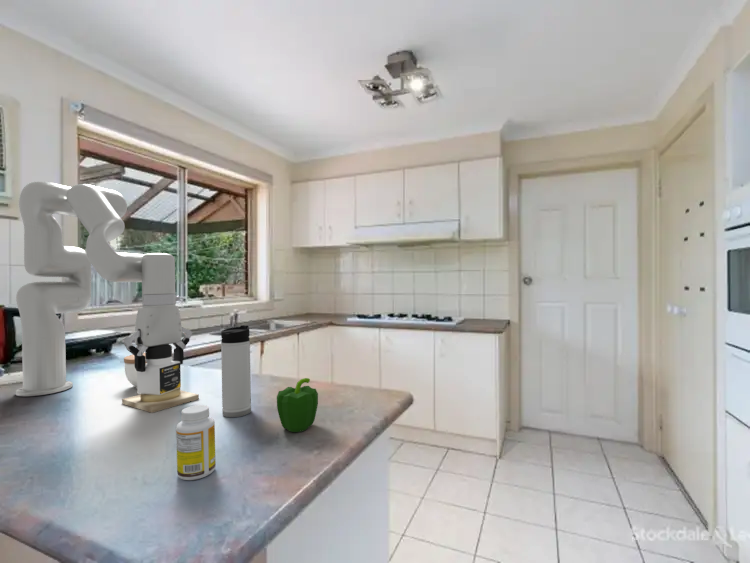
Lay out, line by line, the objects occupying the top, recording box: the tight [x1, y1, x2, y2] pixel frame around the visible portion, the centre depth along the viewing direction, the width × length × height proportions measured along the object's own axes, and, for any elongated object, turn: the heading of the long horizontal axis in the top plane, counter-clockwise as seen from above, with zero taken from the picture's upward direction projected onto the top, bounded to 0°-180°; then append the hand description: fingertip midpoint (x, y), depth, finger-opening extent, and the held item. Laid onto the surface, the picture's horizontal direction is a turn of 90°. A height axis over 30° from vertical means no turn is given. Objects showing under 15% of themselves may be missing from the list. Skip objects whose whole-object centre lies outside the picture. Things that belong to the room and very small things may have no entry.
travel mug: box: [220, 324, 252, 418], centre depth 89 cm, size 6×7×20 cm
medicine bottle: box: [136, 344, 182, 395], centre depth 99 cm, size 7×7×12 cm
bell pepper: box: [276, 377, 319, 433], centre depth 79 cm, size 8×8×10 cm
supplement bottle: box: [175, 404, 217, 481], centre depth 61 cm, size 6×6×10 cm
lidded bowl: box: [123, 352, 174, 389], centre depth 115 cm, size 13×13×11 cm
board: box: [121, 387, 200, 414], centre depth 99 cm, size 14×12×3 cm
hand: (160, 367), depth 99 cm, fingers open, 9 cm apart
